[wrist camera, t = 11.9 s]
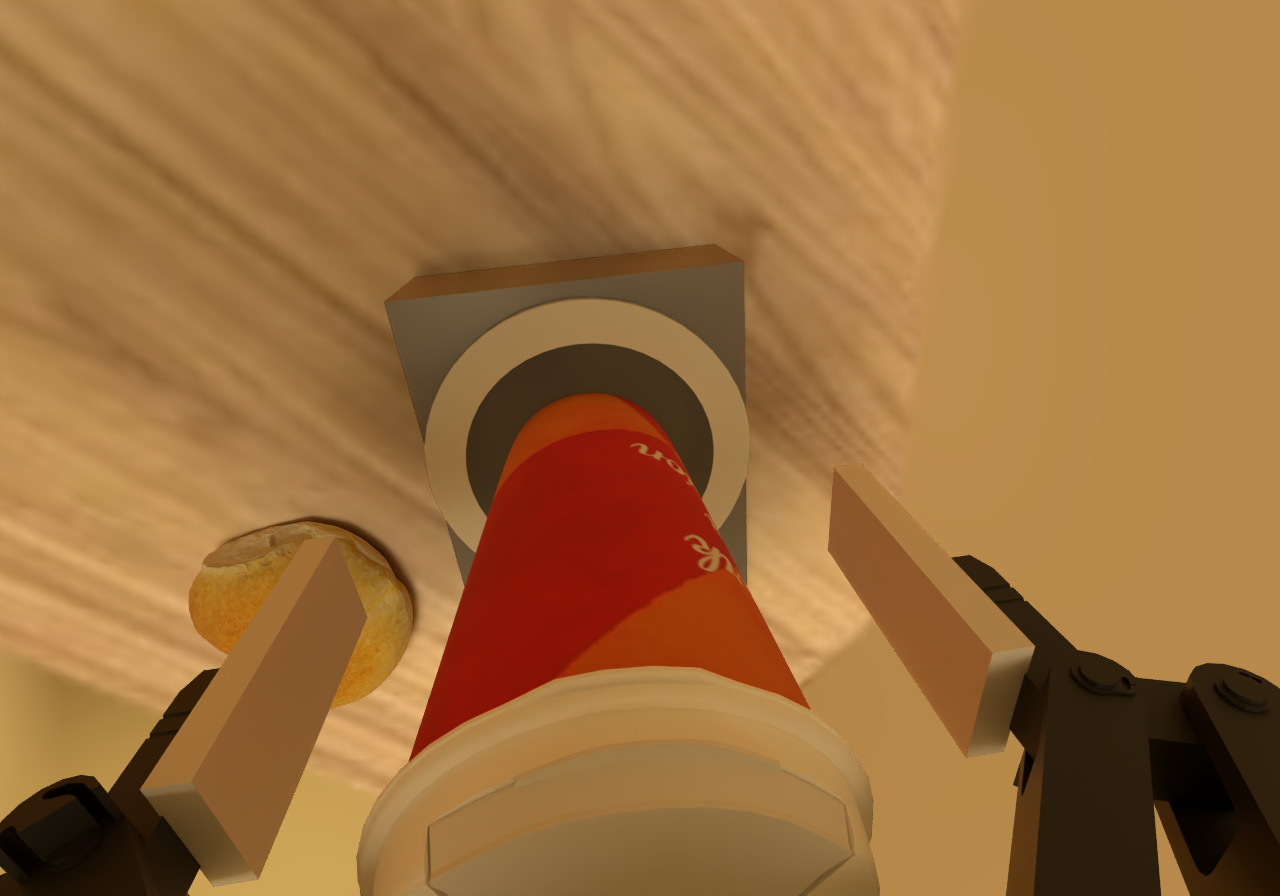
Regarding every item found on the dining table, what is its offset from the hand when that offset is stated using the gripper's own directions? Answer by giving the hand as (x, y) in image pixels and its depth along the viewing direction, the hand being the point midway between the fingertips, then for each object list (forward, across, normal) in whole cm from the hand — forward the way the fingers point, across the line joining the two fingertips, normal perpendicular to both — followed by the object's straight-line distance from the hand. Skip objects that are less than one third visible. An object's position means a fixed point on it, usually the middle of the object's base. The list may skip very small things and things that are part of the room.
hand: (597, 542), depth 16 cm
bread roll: (+10, -13, -8) cm, 18 cm away
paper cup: (+5, 0, 0) cm, 5 cm away
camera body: (+9, 0, -2) cm, 10 cm away
